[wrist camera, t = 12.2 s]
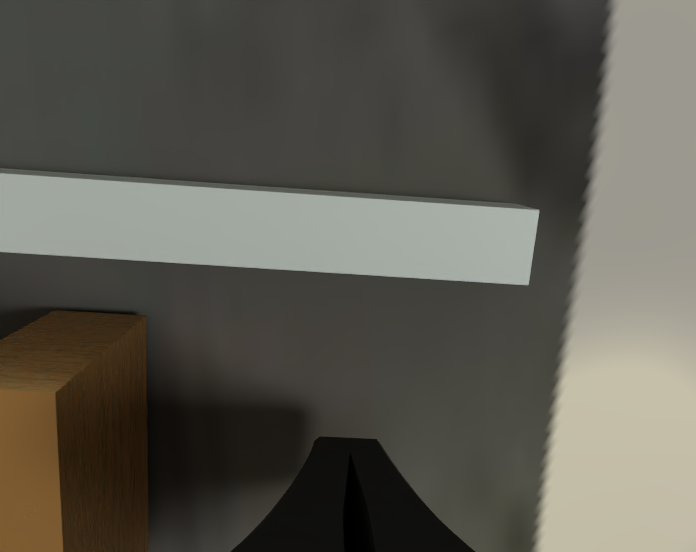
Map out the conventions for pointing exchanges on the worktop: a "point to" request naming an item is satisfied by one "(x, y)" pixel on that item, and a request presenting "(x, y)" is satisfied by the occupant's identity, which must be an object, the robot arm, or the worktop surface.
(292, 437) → the worktop surface
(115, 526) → the vise jaw
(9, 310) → the worktop surface
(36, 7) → the worktop surface
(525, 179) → the worktop surface
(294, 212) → the vise
